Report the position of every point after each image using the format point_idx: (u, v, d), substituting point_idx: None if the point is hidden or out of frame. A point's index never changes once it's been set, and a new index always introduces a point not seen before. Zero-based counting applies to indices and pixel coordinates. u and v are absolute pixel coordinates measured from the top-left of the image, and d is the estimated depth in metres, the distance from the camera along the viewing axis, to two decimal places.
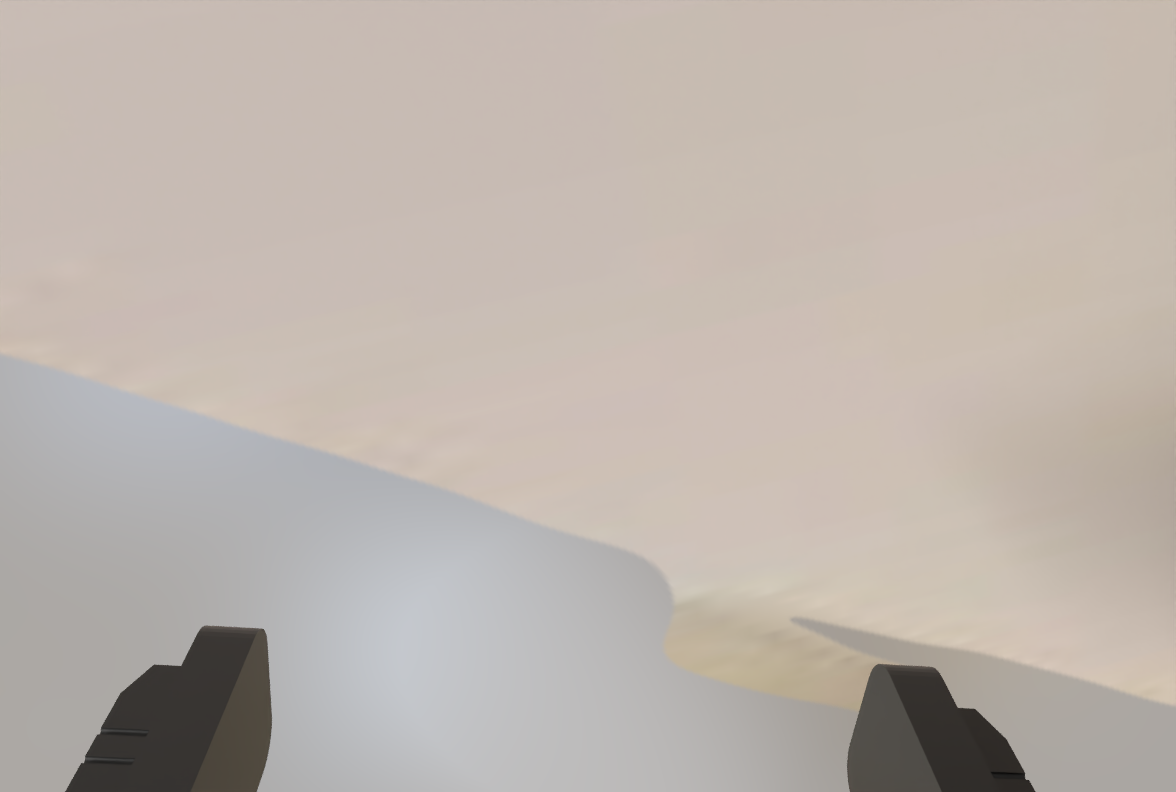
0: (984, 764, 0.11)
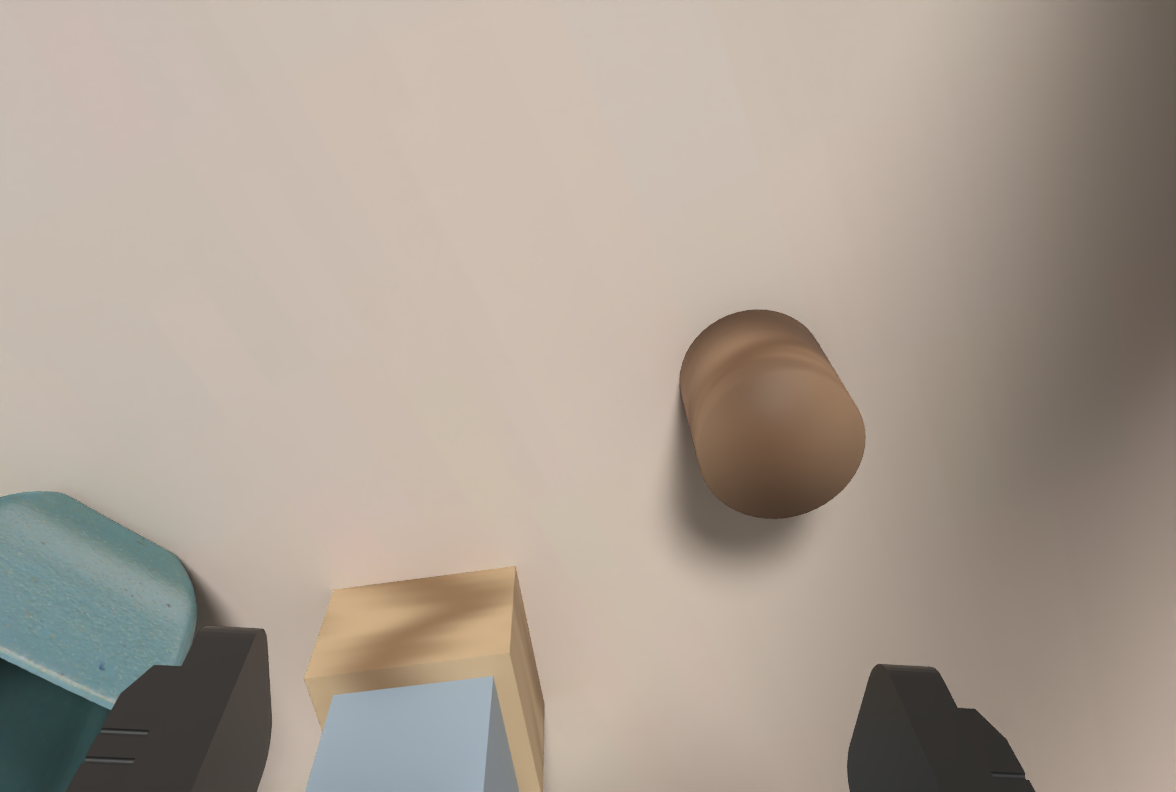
0: (984, 764, 0.11)
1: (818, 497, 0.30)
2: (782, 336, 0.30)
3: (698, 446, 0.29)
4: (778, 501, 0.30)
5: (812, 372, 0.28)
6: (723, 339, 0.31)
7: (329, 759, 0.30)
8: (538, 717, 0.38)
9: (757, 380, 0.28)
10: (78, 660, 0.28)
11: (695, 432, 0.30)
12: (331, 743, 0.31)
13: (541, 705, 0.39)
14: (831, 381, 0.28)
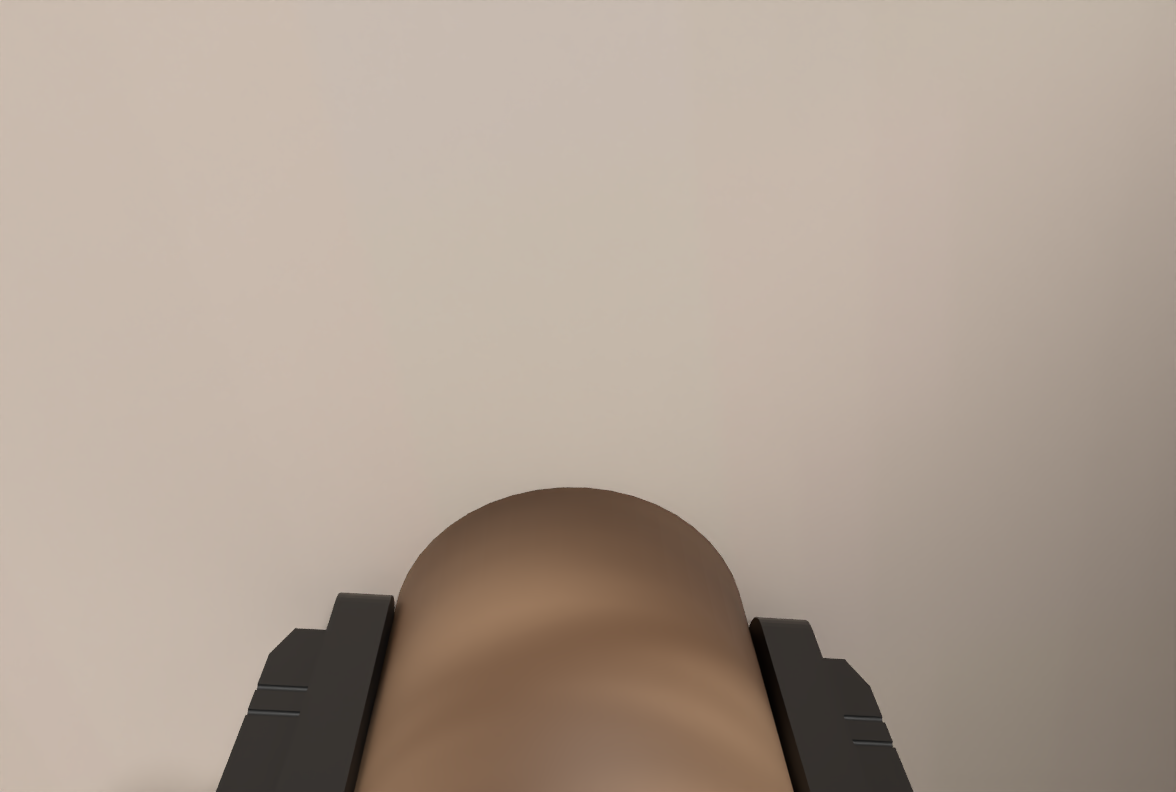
0: (837, 705, 0.12)
1: None
2: (656, 605, 0.11)
3: None
4: None
5: None
6: (500, 569, 0.11)
7: None
8: None
9: None
10: None
11: None
12: None
13: None
14: None
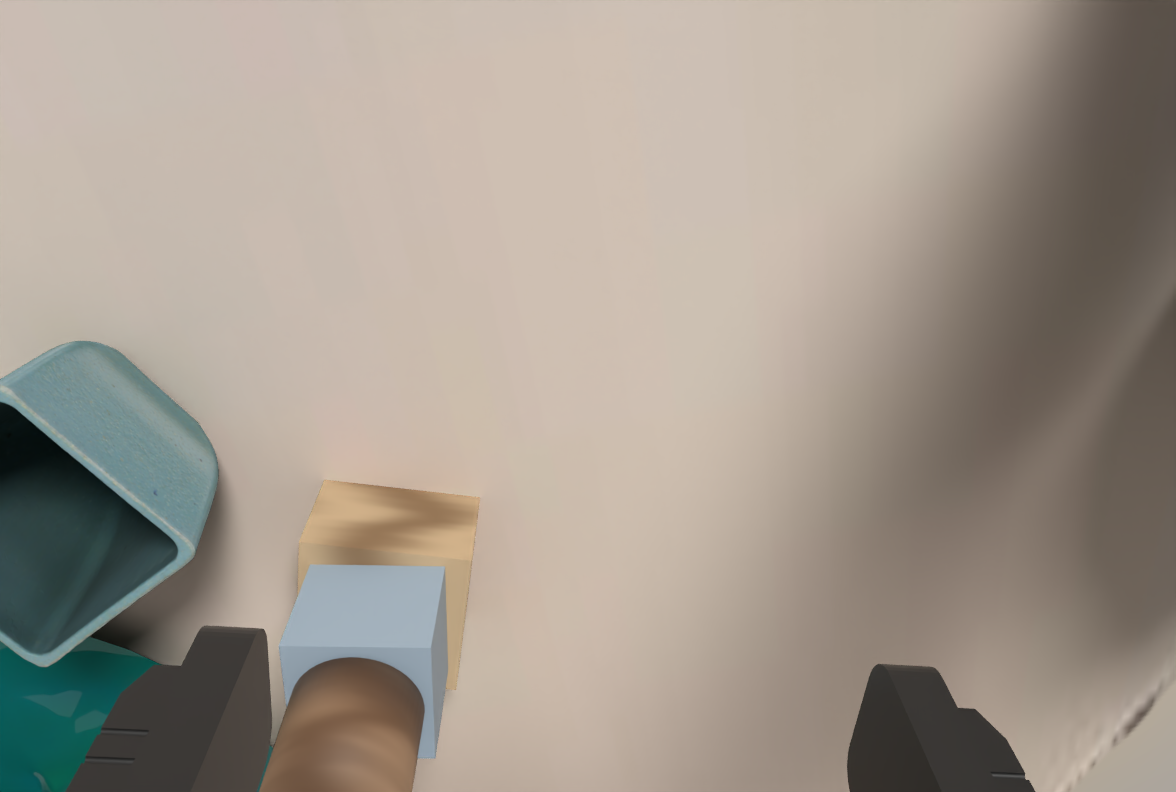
0: (983, 764, 0.11)
1: None
2: (368, 707, 0.34)
3: None
4: None
5: (364, 770, 0.31)
6: (320, 691, 0.34)
7: (305, 609, 0.37)
8: None
9: (311, 769, 0.31)
10: (139, 483, 0.34)
11: None
12: (307, 598, 0.38)
13: None
14: (380, 780, 0.32)
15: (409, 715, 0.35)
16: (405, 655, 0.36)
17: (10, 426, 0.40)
